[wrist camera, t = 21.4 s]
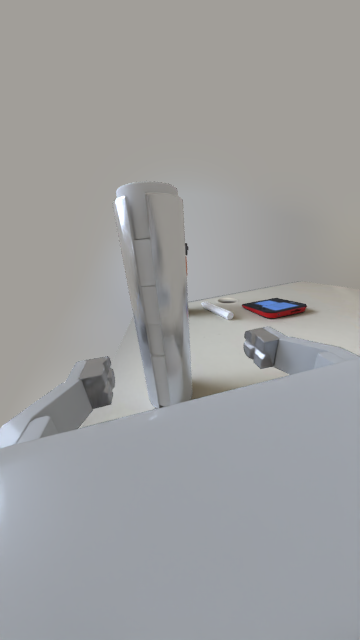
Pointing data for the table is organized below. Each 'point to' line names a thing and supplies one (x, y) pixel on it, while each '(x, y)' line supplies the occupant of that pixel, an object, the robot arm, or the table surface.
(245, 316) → the table surface
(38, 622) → the robot arm
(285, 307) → the game console
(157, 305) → the silver tall cylinder
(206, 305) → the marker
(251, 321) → the table surface
